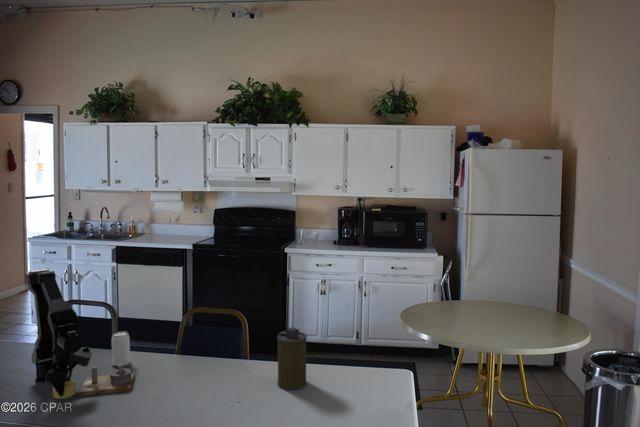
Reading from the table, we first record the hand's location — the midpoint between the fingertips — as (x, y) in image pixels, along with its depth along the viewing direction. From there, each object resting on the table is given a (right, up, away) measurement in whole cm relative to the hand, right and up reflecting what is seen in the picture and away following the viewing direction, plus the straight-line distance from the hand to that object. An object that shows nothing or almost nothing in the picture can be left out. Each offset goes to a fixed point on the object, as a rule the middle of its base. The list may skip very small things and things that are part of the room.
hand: (64, 390), depth 158 cm
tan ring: (0, -1, 0) cm, 1 cm away
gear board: (+12, -1, +6) cm, 13 cm away
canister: (+76, -1, +9) cm, 76 cm away
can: (+8, 0, +26) cm, 27 cm away
